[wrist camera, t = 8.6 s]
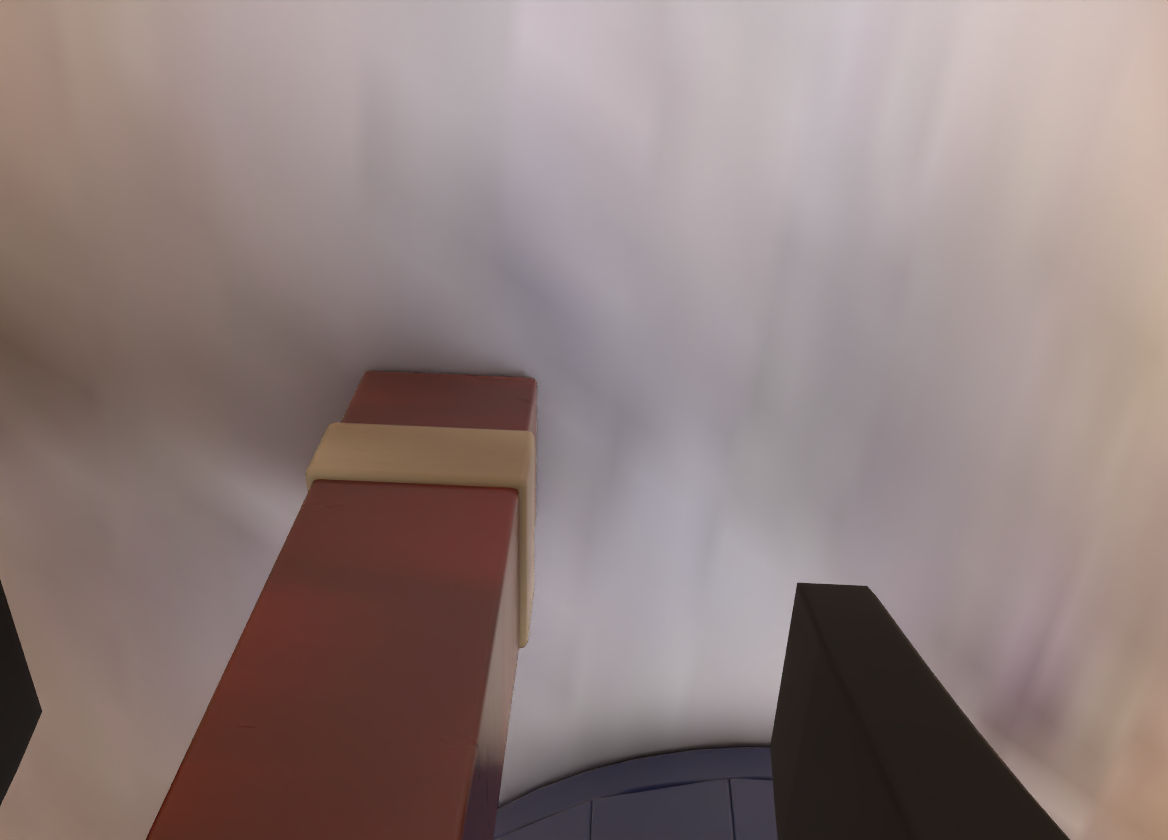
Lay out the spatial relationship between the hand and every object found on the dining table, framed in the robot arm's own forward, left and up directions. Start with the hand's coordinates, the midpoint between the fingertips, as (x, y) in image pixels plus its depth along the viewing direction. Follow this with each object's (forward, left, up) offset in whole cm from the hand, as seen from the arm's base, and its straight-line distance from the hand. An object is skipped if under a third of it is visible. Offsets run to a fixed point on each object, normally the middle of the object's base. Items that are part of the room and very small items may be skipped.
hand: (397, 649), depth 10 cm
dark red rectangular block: (0, 0, -3) cm, 3 cm away
